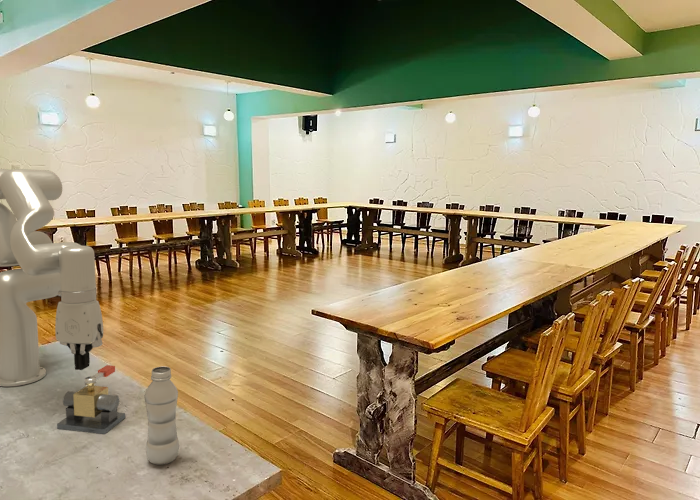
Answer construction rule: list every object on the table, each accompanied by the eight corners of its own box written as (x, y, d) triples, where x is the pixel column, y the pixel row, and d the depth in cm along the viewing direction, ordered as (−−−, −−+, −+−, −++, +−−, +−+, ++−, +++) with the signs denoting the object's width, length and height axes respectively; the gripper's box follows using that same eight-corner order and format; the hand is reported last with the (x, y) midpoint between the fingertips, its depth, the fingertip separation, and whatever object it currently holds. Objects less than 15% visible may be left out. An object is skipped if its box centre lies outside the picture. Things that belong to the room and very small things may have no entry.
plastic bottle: (168, 471, 98) (167, 377, 96) (138, 466, 100) (136, 373, 97) (185, 454, 105) (184, 365, 102) (157, 449, 106) (155, 362, 103)
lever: (92, 386, 113) (91, 380, 113) (82, 385, 114) (82, 379, 113) (115, 371, 122) (115, 365, 122) (106, 370, 122) (106, 365, 122)
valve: (57, 428, 113) (55, 388, 112) (80, 412, 121) (79, 375, 119) (104, 434, 111) (103, 393, 110) (125, 417, 119) (124, 379, 118)
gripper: (39, 298, 116) (43, 371, 118) (97, 301, 114) (100, 376, 116) (62, 291, 123) (65, 360, 126) (116, 294, 121) (119, 364, 124)
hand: (82, 367), depth 121 cm, fingers closed
